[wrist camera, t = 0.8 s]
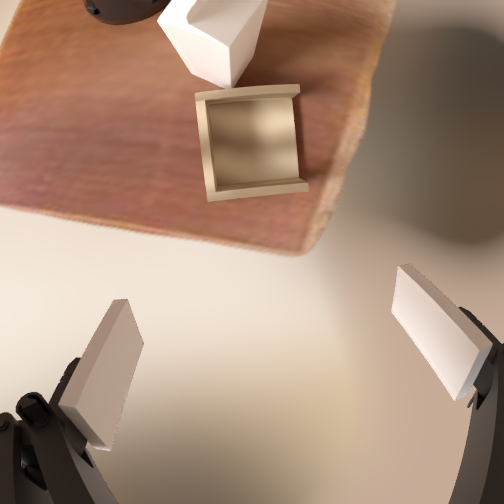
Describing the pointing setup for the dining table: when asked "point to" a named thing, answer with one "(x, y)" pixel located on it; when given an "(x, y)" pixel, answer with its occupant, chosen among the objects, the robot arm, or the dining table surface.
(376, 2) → the dining table surface
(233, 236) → the dining table surface
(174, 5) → the milk
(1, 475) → the robot arm
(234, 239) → the dining table surface
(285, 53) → the dining table surface
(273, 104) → the u rest
